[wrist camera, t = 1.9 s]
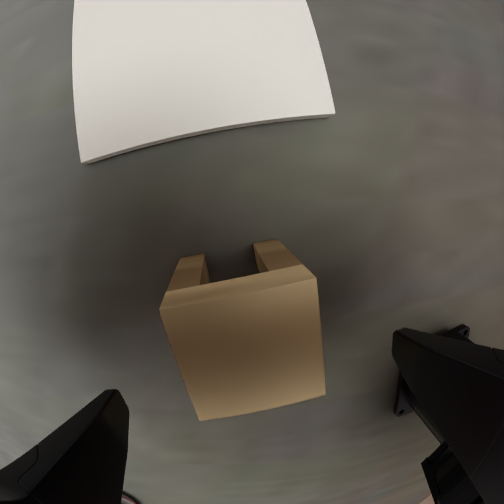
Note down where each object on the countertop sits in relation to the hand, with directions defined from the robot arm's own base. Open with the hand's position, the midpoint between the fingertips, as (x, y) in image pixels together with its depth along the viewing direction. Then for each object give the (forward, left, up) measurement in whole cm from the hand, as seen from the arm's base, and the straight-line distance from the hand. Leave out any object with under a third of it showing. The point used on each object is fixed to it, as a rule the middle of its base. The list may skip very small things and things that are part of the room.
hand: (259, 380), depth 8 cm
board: (+14, 0, -7) cm, 16 cm away
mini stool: (0, 0, -7) cm, 7 cm away
